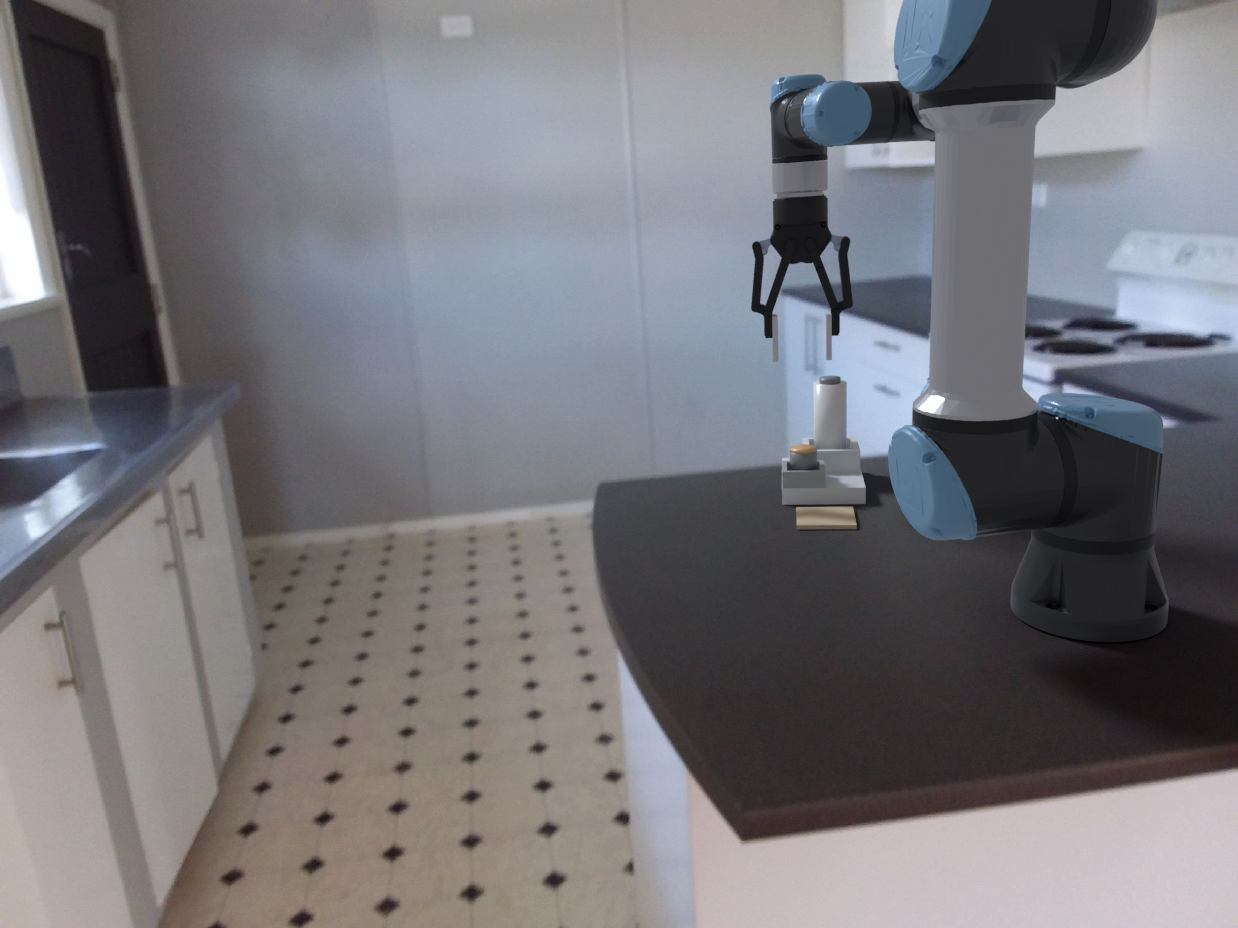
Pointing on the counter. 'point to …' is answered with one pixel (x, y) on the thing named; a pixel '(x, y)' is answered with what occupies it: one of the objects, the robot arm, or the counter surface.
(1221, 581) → the counter surface
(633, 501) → the counter surface
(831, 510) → the coaster
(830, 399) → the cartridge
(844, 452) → the housing
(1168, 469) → the counter surface
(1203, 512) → the counter surface
